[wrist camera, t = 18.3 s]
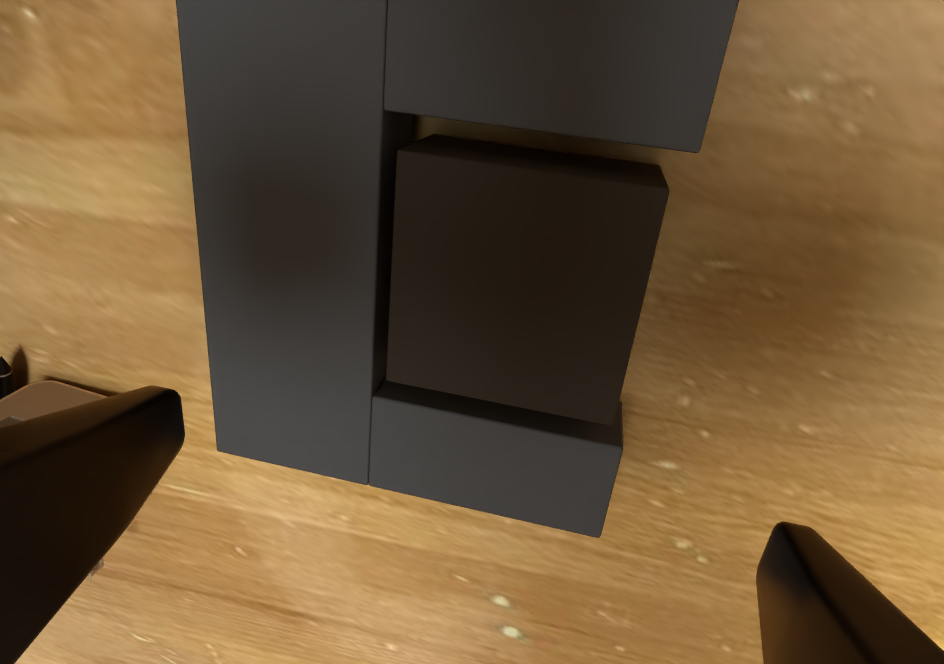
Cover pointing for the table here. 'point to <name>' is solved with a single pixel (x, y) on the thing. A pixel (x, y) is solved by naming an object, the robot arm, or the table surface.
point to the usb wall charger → (44, 407)
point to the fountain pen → (6, 379)
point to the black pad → (520, 273)
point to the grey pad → (372, 218)
